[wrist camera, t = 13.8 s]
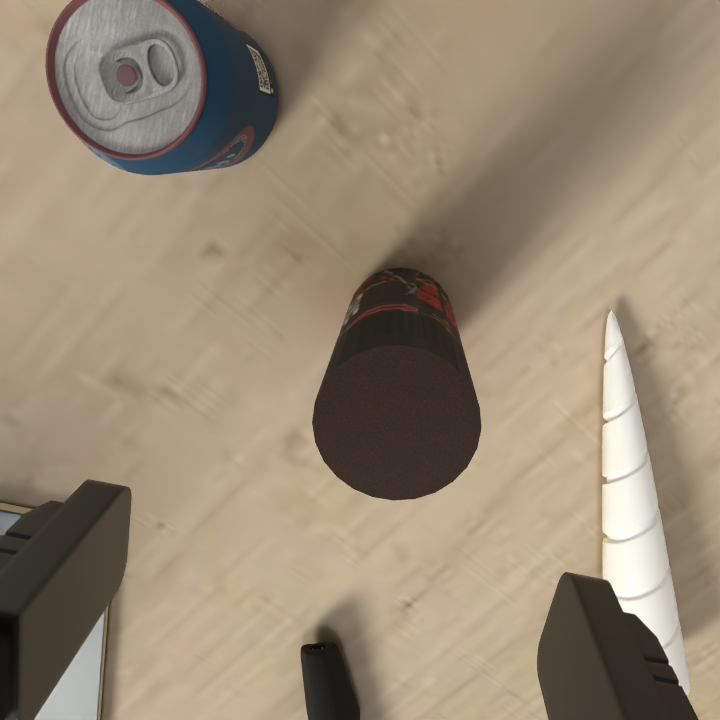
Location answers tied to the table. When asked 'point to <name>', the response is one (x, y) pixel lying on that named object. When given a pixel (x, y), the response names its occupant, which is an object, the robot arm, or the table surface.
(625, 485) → the unicorn horn
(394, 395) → the deodorant
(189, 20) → the soda can
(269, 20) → the table surface
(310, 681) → the electric trimmer
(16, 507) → the notebook
